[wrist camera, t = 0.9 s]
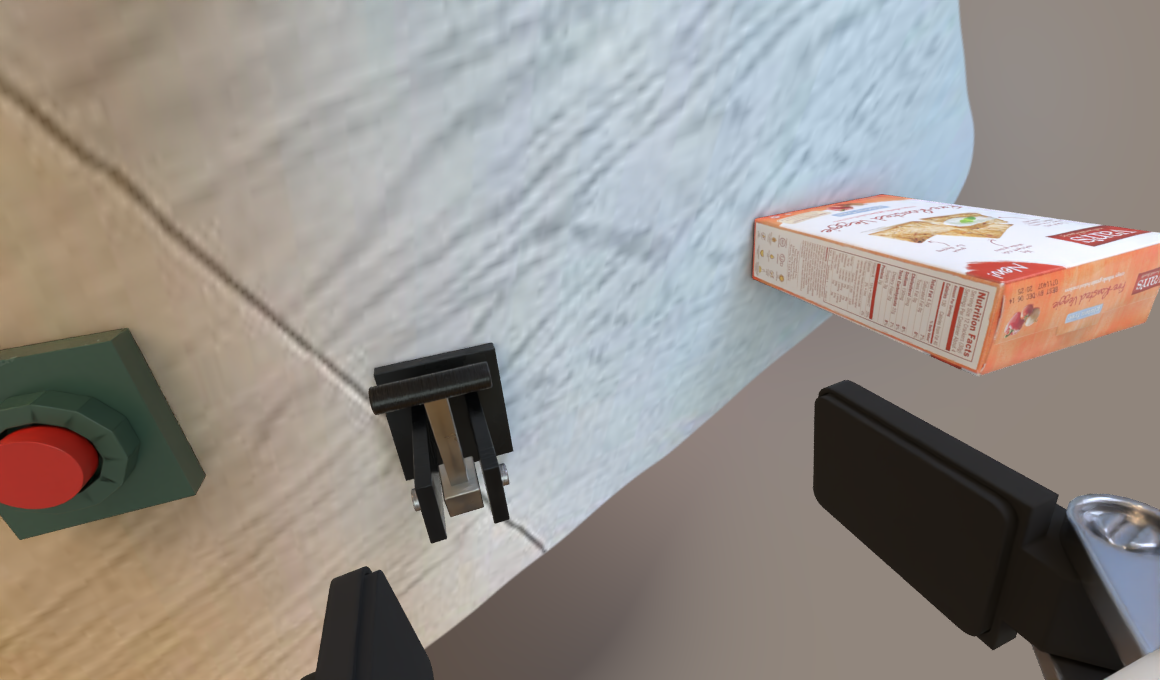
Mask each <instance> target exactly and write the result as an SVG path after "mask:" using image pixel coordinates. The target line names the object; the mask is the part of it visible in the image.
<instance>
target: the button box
mask: <svg viewBox="0 0 1160 680" xmlns="http://www.w3.org/2000/svg"><path fill="white" fill-rule="evenodd" d="M38 425H49V426H57V427H62V428H65V429H69V430H71V431H74V432H76V433H78V434H80V435H81V436H83V437H84V438H86V439H87V440H88V441H89V442H90V443H91V444H92V445H93V446H94V448H95V449H96V451H97V454H98V459H99V463H98V468H97V470H96V472H95V474H94V475H93V476H92V477H91V478H90V480H89V481H88V482H87V483H86V484H85V485H84V487H83V488H82V489H81V490H80V491H79V492H78V493H77V494H76V495H75V496H74V497H73V498H72V499H70V500H69V501H67V502H65V503H62V504H60V505H57V506H54V507H49V508H43V509H24V508H17V507H12V506H9V505H6V504H3V503H0V515H1V517H2V518H3V519H4V521H5V522H6V523H7V524H8V526H9V527H10V528H11V529H12V531H13V532H14V533H15V535H16V536H17V537H18V538H19V540H22V539H26V538H30V537H34V536H38V535H42V534H45V533H49V532H53V531H57V530H61V529H65V528H69V527H73V526H77V525H81V524H84V523H88V522H92V521H96V520H100V519H104V518H108V517H112V516H116V515H120V514H124V513H127V512H131V511H135V510H139V509H143V508H147V507H151V506H155V505H159V504H163V503H166V502H170V501H174V500H178V499H182V498H186V497H190V496H194V495H196V493H197V491H198V489H199V487H200V486H201V484H202V482H203V480H204V478H205V476H206V475H205V474H204V472H203V470H202V468H201V466H200V464H199V462H198V460H197V458H196V456H195V455H194V453H193V451H192V449H191V447H190V445H189V443H188V441H187V439H186V437H185V436H184V434H183V432H182V430H181V428H180V426H179V424H178V422H177V420H176V418H175V416H174V415H173V413H172V411H171V409H170V407H169V405H168V403H167V401H166V399H165V397H164V396H163V394H162V392H161V390H160V388H159V386H158V384H157V382H156V380H155V378H154V377H153V375H152V373H151V371H150V369H149V367H148V365H147V363H146V361H145V359H144V358H143V356H142V354H141V352H140V350H139V348H138V346H137V344H136V342H135V340H134V338H133V337H132V335H131V333H130V331H129V329H128V328H124V329H118V330H113V331H107V332H101V333H96V334H90V335H84V336H79V337H73V338H67V339H62V340H56V341H50V342H45V343H39V344H33V345H28V346H22V347H16V348H10V349H5V350H0V440H2V439H3V438H4V437H5V436H7V435H8V434H10V433H12V432H13V431H16V430H18V429H21V428H25V427H29V426H38Z"/></svg>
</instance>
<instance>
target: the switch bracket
mask: <svg viewBox="0 0 1160 680" xmlns="http://www.w3.org/2000/svg"><path fill="white" fill-rule="evenodd" d="M481 362H487V364H488V367H489V371H490V376H491V381H492V387H491V388H488V389H483V390H479V391H475V392H471V393H467V394H463V395H458V396H454V397H450V398H448V400H449V404H450V408H451V412H452V416H453V420H454V423H455V427H456V431H457V435H458V439H459V443H460V447H461V450H462V454H463V458H467V457H471V456H472V457H473V460H474V462H476V461H480V465H481V470H482V474H483V478H484V482H485V486H486V490H487V495H488V499H489V503H490V507H491V511H492V515H493V520H494V523H499V522H502V521H505V520H509V513H508V508H507V503H506V498H505V493H504V488H503V486H505V485H508V484H509V478H508V473H507V469H506V466H505V464H504V463H503V464H498V460H497V457H496V456H498V455H501V454H505V453H509V452H512V451H513V447H512V441H511V436H510V430H509V425H508V419H507V414H506V408H505V403H504V397H503V392H502V386H501V381H500V375H499V370H498V364H497V359H496V353H495V348H494V346H493V344H492V343H488V344H484V345H479V346H475V347H470V348H465V349H461V350H456V351H452V352H447V353H442V354H438V355H433V356H429V357H424V358H419V359H415V360H410V361H405V362H401V363H396V364H392V365H387V366H382V367H378V368H374V378H375V381H376V384H377V386H379V385H383V384H388V383H392V382H396V381H401V380H405V379H410V378H414V377H419V376H423V375H427V374H432V373H436V372H441V371H445V370H450V369H454V368H459V367H463V366H467V365H472V364H476V363H481ZM385 414H386V417H387V420H388V423H389V427H390V430H391V433H392V436H393V440H394V443H395V446H396V449H397V453H398V456H399V459H400V462H401V466H402V469H403V472H404V476H405V479H406V481H407V480H411V479H414V483H415V488H414V489H412V490H411V495H412V501H413V506H414V509H415V511H419V510H421V512H422V515H423V519H424V522H425V525H426V529H427V532H428V535H429V539H430V542H431V543H435V542H438V541H441V540H444V539H447V534H446V525H445V517H444V508H443V499H442V491H441V482H440V474H439V468H438V465H441V464H444V463H443V460H442V457H441V454H440V451H439V448H438V445H437V442H436V439H435V436H434V433H433V430H432V427H431V424H430V421H429V418H428V415H427V412H426V409H425V405H424V404H421V405H417V406H413V407H408V408H404V409H400V410H396V411H392V412H387V413H385Z"/></svg>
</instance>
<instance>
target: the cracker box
mask: <svg viewBox="0 0 1160 680" xmlns="http://www.w3.org/2000/svg"><path fill="white" fill-rule="evenodd" d="M752 278H753V279H754V280H757V281H759V282H762V283H764V284H766V285H768V286H771V287H773V288H776V289H778V290H780V291H782V292H784V293H787V294H789V295H791V296H794V297H796V298H798V299H801V300H803V301H805V302H808V303H810V304H812V305H814V306H817V307H819V308H821V309H824V310H826V311H828V312H830V313H833V314H835V315H838V316H840V317H842V318H845V319H846V320H849V321H851V322H853V323H856V324H858V325H860V326H863V327H865V328H868V329H869V330H872V331H874V332H876V333H879V334H881V335H883V336H886V337H888V338H890V339H892V340H895V341H897V342H899V343H902V344H904V345H906V346H909V347H911V348H913V349H916V350H917V351H920V352H922V353H925V354H927V355H929V356H931V357H934V358H936V359H938V360H940V361H942V362H945V363H947V364H949V365H951V366H954V367H956V368H958V369H961V370H963V371H966V372H968V373H970V374H973V375H975V376H981V375H984V374H987V373H991V372H994V371H997V370H1000V369H1003V368H1006V367H1009V366H1012V365H1015V364H1018V363H1022V362H1024V361H1028V360H1031V359H1034V358H1037V357H1040V356H1043V355H1047V354H1049V353H1053V352H1056V351H1059V350H1062V349H1065V348H1068V347H1071V346H1074V345H1077V344H1080V343H1083V342H1086V341H1090V340H1093V339H1096V338H1099V337H1102V336H1105V335H1108V334H1111V333H1115V332H1118V331H1121V330H1124V329H1127V328H1130V327H1134V326H1137V325H1140V324H1143V323H1145V322H1146V320H1147V318H1148V315H1149V313H1150V310H1151V308H1152V305H1153V303H1154V300H1155V298H1156V295H1157V293H1158V290H1159V288H1160V233H1156V232H1149V231H1141V230H1134V229H1128V228H1121V227H1114V226H1106V225H1099V224H1092V223H1083V222H1076V221H1069V220H1061V219H1053V218H1047V217H1040V216H1033V215H1027V214H1019V213H1012V212H1005V211H998V210H991V209H984V208H977V207H969V206H961V205H954V204H947V203H940V202H934V201H927V200H919V199H912V198H905V197H898V196H891V195H883V194H881V195H877V196H871V197H866V198H861V199H856V200H851V201H845V202H840V203H835V204H830V205H825V206H819V207H814V208H809V209H804V210H798V211H793V212H788V213H783V214H777V215H772V216H767V217H762V218H757V219H755V229H754V252H753V274H752Z"/></svg>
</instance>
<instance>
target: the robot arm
mask: <svg viewBox="0 0 1160 680" xmlns="http://www.w3.org/2000/svg"><path fill="white" fill-rule="evenodd" d="M813 490H814V495H815V497H816V499H817V501H818V502H819V504H820V505H821V506H822V507H823V508H824V509H825V510H827V511H828V512H829V513H830V514H831V515H832V516H833V517H834V518H836V519H837V520H838V521H839V522H840V523H841V524H842V525H843V526H845V527H846V528H847V529H848V530H849V531H850V532H851V533H852V534H854V535H855V536H856V537H857V538H858V539H859V540H860V541H862V542H863V543H864V544H865V545H866V546H867V547H868V548H869V549H871V550H872V551H873V552H874V553H875V554H876V555H877V556H879V557H880V558H881V559H882V560H883V561H884V562H885V563H886V564H887V565H889V566H890V567H891V568H892V569H893V570H894V571H895V572H897V573H898V574H899V575H900V576H901V577H902V578H903V579H904V580H905V581H907V582H908V583H909V584H910V585H911V586H912V587H913V588H915V589H916V590H917V591H918V592H919V593H920V594H921V595H922V596H923V597H925V598H926V599H927V600H928V601H929V602H930V603H931V604H933V605H934V606H935V607H936V608H937V609H938V610H939V611H940V612H942V613H943V614H944V615H945V616H946V617H947V618H948V619H949V620H951V621H952V622H953V623H954V624H955V625H956V626H957V627H958V628H960V629H961V630H962V631H963V632H965V633H967V634H969V635H971V636H977V637H978V638H979V639H980V640H982V641H983V642H984V643H985V644H986V645H987V646H989V647H990V648H991V649H992V650H995V649H996V648H998V647H1000V646H1002V645H1003V644H1005V643H1007V642H1009V641H1010V640H1012V639H1014V638H1015V637H1016V635H1017V633H1019V634H1020V635H1021V636H1022V637H1024V638H1025V639H1026V640H1027V641H1029V642H1030V643H1031V644H1032V647H1033V650H1034V653H1035V655H1036V658H1037V660H1038V663H1039V666H1040V668H1041V671H1042V673H1043V676H1044V679H1045V680H1160V510H1159V509H1157V508H1155V507H1152V506H1150V505H1148V504H1146V503H1143V502H1139V501H1136V500H1133V499H1130V498H1126V497H1121V496H1115V495H1110V494H1087V495H1083V496H1078V497H1076V498H1075V499H1074V500H1072V501H1070V502H1069V505H1068V508H1067V509H1065V508H1063V507H1061V506H1059V505H1058V504H1056V502H1057V499H1058V494H1056V493H1054V492H1053V491H1051V490H1049V489H1047V488H1045V487H1043V486H1042V485H1040V484H1038V483H1036V482H1034V481H1033V480H1031V479H1029V478H1027V477H1025V476H1024V475H1022V474H1020V473H1018V472H1016V471H1014V470H1013V469H1011V468H1009V467H1007V466H1005V465H1003V464H1002V463H1000V462H998V461H996V460H994V459H993V458H991V457H989V456H987V455H985V454H983V453H982V452H980V451H978V450H976V449H974V448H972V447H971V446H968V445H967V444H965V443H963V442H962V441H960V440H958V439H956V438H954V437H952V436H950V435H949V434H947V433H945V432H943V431H942V430H940V429H938V428H936V427H934V426H932V425H931V424H929V423H927V422H925V421H923V420H922V419H920V418H918V417H916V416H914V415H912V414H911V413H909V412H907V411H905V410H903V409H901V408H899V407H898V406H896V405H894V404H892V403H891V402H889V401H887V400H885V399H883V398H881V397H880V396H878V395H876V394H874V393H872V392H871V391H869V390H867V389H865V388H863V387H861V386H860V385H858V384H856V383H854V382H852V381H849V380H844V381H842V382H839V383H836V384H834V385H831V386H828V387H826V388H823V389H822V390H821V391H820V392H819V396H818V398H817V399H816V401H815V417H814V476H813ZM301 680H434V677H433V671H432V666H431V663H430V660H429V658H428V656H427V654H426V652H425V650H424V648H423V646H422V645H421V643H420V641H419V639H418V637H417V635H416V633H415V631H414V629H413V628H412V626H411V624H410V622H409V620H408V618H407V616H406V614H405V613H404V611H403V609H402V607H401V605H400V603H399V601H398V599H397V598H396V596H395V594H394V592H393V590H392V588H391V586H390V584H389V583H388V581H387V579H386V577H385V575H384V573H383V572H382V571H381V570H378V571H375V572H373V573H372V571H371V570H370V568H368V567H367V566H366V567H362V568H360V569H357V570H355V571H352V572H349V573H347V574H344V575H342V576H339V577H337V578H334V579H333V580H332V581H331V584H330V589H329V595H328V601H327V607H326V613H325V619H324V625H323V632H322V638H321V644H320V650H319V656H318V662H317V668H316V672H313V673H311V674H309V675H306V676H305V677H303V678H302V679H301Z"/></svg>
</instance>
